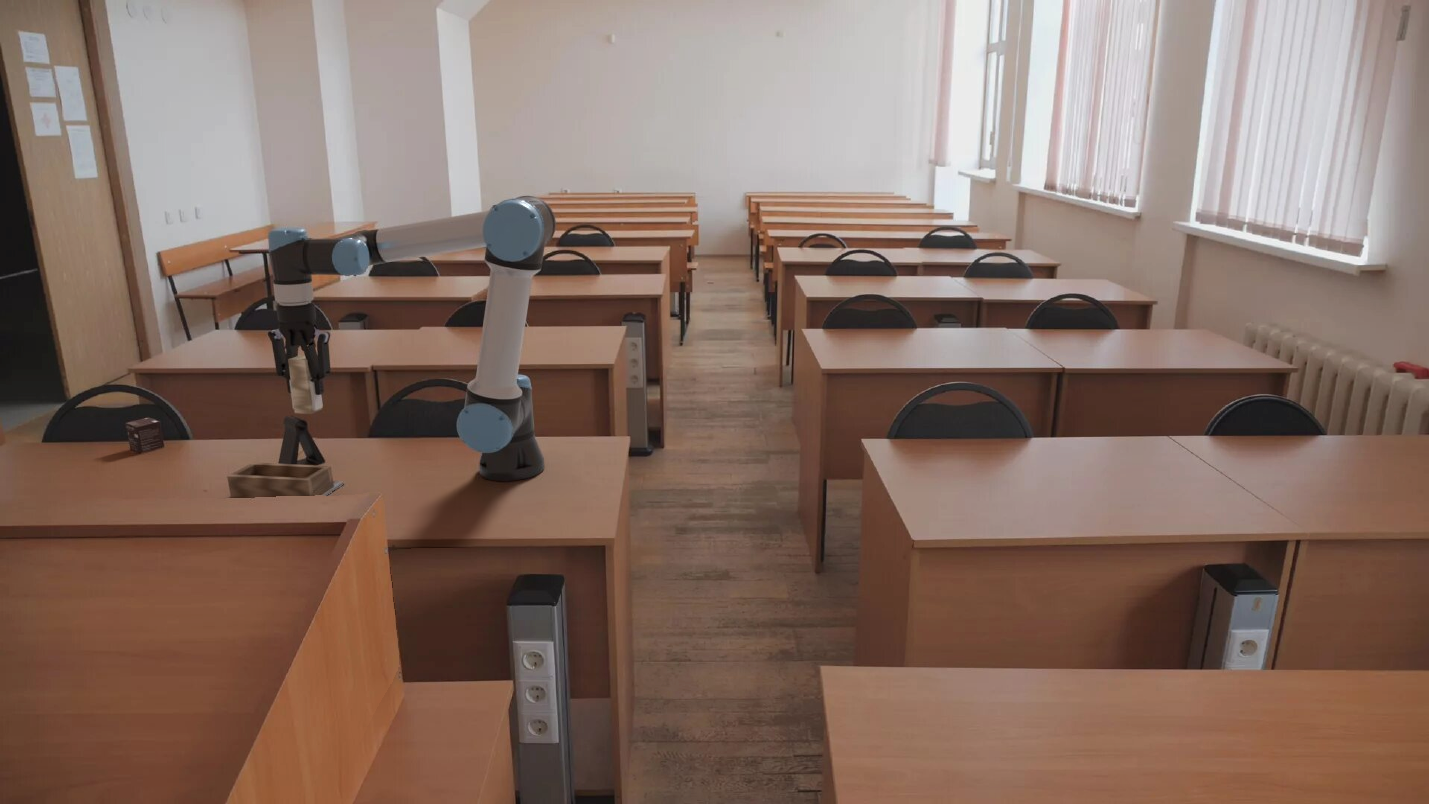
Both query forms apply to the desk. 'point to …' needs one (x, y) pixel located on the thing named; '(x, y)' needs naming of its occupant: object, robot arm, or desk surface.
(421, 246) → the robot arm
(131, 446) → the box
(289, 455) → the black phone stand
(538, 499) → the desk surface
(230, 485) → the wooden tray
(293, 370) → the birch block
